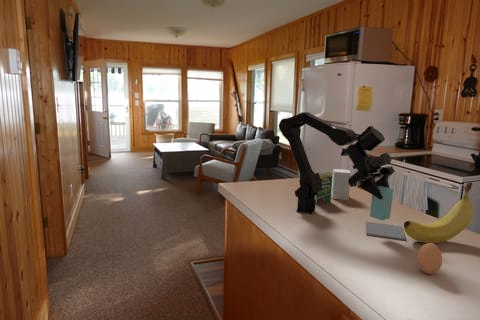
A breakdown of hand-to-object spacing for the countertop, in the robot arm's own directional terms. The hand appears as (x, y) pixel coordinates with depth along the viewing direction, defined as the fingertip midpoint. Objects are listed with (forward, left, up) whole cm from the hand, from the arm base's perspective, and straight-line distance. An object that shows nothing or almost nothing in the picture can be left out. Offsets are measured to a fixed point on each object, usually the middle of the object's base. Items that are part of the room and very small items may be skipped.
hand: (385, 197), depth 112 cm
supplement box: (-16, +42, -14) cm, 47 cm away
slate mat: (+1, +5, -13) cm, 15 cm away
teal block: (-1, +1, -7) cm, 7 cm away
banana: (+16, +2, -14) cm, 21 cm away
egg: (+10, -22, -14) cm, 28 cm away
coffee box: (-23, +30, -14) cm, 40 cm away
